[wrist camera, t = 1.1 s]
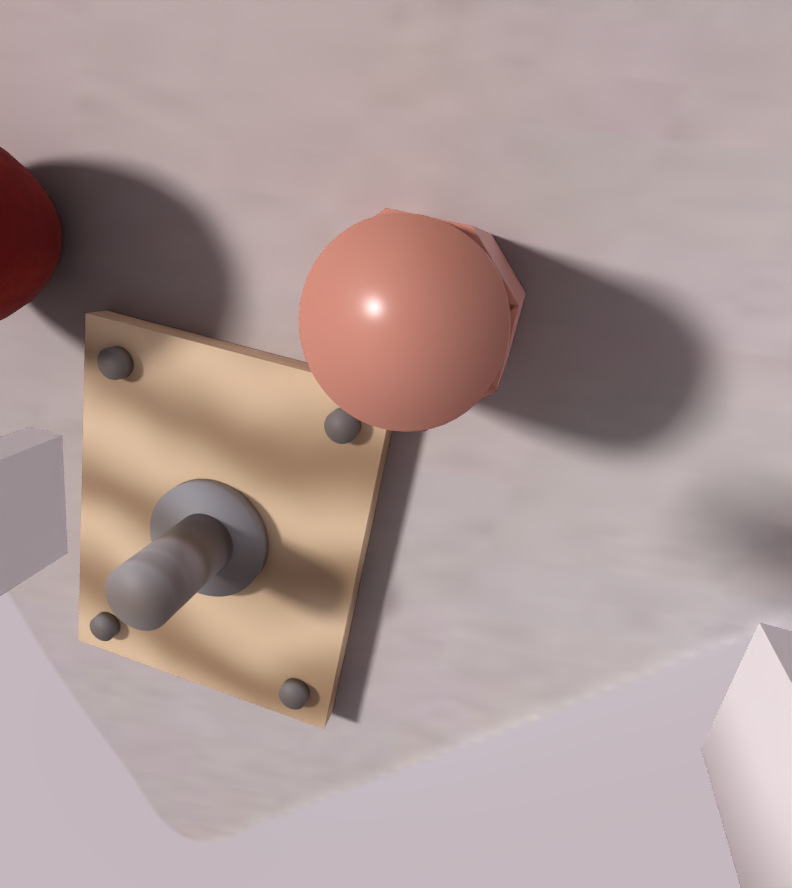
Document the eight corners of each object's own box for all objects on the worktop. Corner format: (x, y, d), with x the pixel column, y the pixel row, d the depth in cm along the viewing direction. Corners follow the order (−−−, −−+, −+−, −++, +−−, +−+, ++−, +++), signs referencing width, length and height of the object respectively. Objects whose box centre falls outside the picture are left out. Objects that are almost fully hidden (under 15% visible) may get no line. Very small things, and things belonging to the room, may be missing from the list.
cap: (381, 210, 26) (315, 192, 19) (539, 244, 25) (536, 238, 18) (353, 364, 29) (285, 402, 21) (496, 401, 27) (478, 455, 20)
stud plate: (106, 310, 31) (-29, 327, 24) (401, 387, 28) (351, 432, 21) (95, 625, 38) (-12, 714, 30) (332, 710, 35) (277, 828, 28)
